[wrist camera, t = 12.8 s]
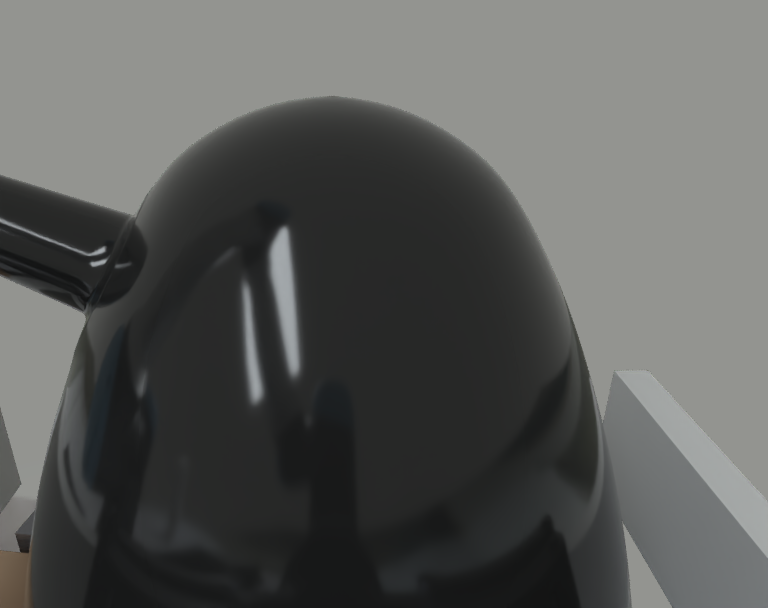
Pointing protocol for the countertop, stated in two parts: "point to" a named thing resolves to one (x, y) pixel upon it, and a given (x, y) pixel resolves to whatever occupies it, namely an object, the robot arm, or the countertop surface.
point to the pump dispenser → (315, 382)
